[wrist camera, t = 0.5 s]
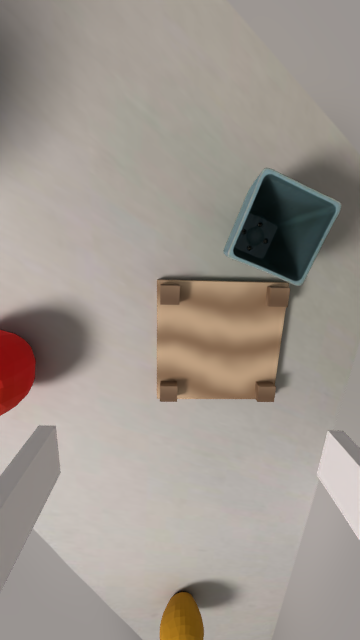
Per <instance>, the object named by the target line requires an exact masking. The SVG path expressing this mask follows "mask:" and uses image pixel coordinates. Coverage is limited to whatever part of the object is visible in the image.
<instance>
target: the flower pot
mask: <svg viewBox="0 0 360 640" xmlns="http://www.w3.org/2000/svg"><path fill="white" fill-rule="evenodd" d="M340 209H341V203H340V202H339V201H337V200H335V199H333V198H331V197H328V196H326V195H324V194H322V193H320V192H318V191H316V190H314V189H312V188H309V187H307V186H305V185H303V184H301V183H299V182H297V181H295V180H293V179H291V178H289V177H287V176H285V175H283V174H281V173H279V172H277V171H275V170H273V169H270V168H265V169H264V170H263V171H262V172H261V174H260V175H259V176H258V178H257V179H256V180H255V182H254V183H253V185H252V186H251V187H250V189H249V191H248V193H247V195H246V198H245V200H244V202H243V205H242V207H241V210H240V212H239V214H238V217H237V219H236V222H235V224H234V226H233V229H232V231H231V233H230V236H229V238H228V241H227V243H226V245H225V248H224V254H225V255H226V256H228V257H229V258H231V259H233V260H236V261H239V262H241V263H244V264H246V265H249V266H251V267H254V268H256V269H259V270H261V271H263V272H266V273H268V274H270V275H273V276H275V277H277V278H280V279H282V280H284V281H287V282H289V283H291V284H293V285H296V286H301V285H302V284H303V282H304V281H305V279H306V277H307V274H308V273H309V271H310V269H311V267H312V265H313V262H314V260H315V259H316V256H317V254H318V253H319V250H320V249H321V247H322V244H323V242H324V241H325V238H326V237H327V235H328V233H329V231H330V229H331V227H332V225H333V223H334V221H335V219H336V218H337V216H338V214H339V212H340ZM258 223H261V224H262V225H261V227H259V226H258ZM242 230H245V231H246V232H245V234H242ZM264 239H266V240H267V242H266V243H264V242H263V240H264ZM248 246H250V247H251V250H248V249H247V248H248Z"/></svg>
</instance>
